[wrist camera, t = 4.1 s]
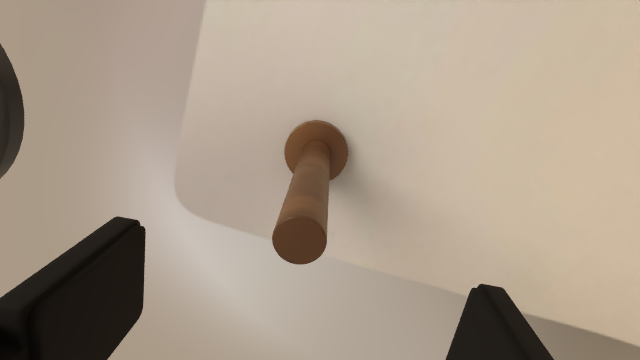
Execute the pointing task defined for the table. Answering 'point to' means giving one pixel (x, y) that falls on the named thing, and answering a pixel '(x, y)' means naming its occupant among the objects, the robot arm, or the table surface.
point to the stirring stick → (308, 190)
